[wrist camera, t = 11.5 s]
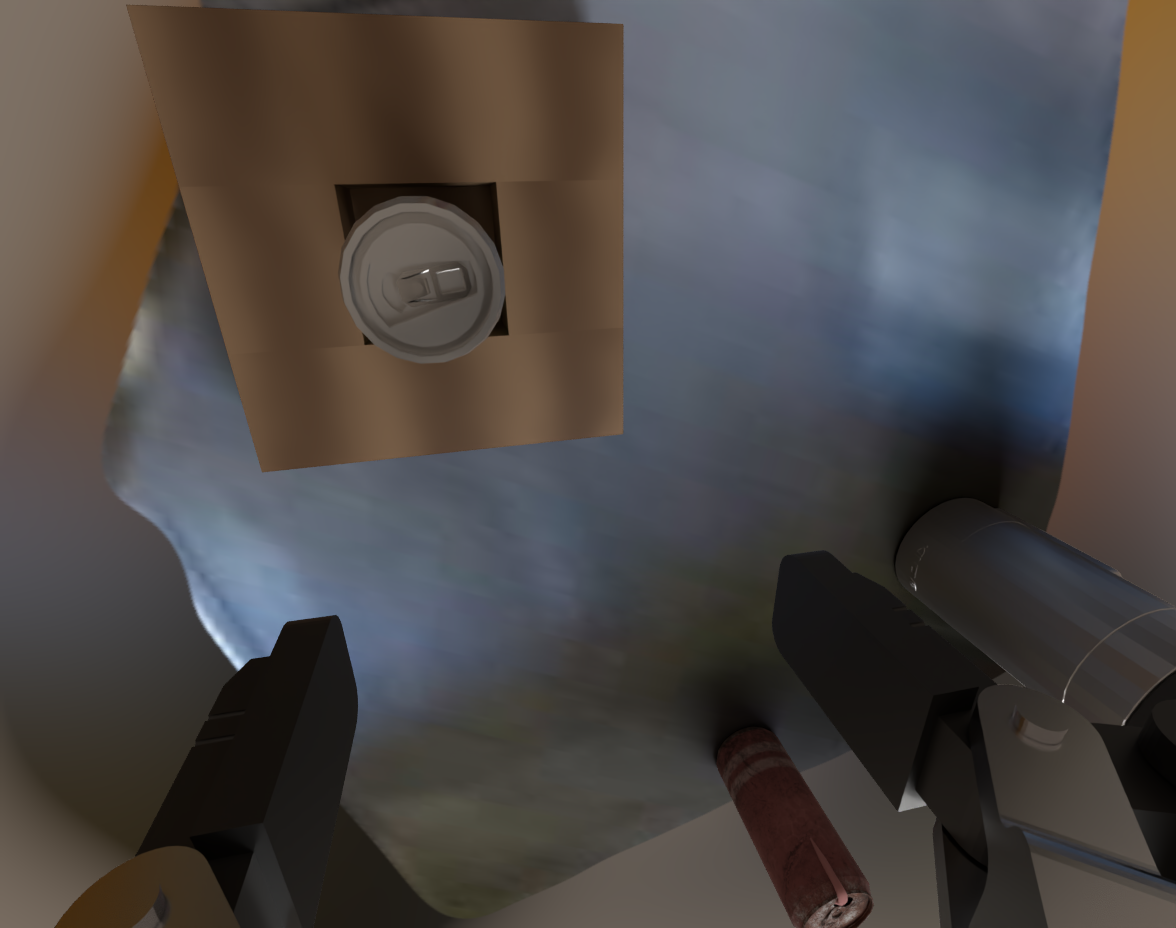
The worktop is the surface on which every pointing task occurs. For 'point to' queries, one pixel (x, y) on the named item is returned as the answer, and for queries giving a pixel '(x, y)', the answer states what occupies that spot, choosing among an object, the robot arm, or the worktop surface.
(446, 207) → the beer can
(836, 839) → the can
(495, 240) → the socket block
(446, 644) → the worktop surface
